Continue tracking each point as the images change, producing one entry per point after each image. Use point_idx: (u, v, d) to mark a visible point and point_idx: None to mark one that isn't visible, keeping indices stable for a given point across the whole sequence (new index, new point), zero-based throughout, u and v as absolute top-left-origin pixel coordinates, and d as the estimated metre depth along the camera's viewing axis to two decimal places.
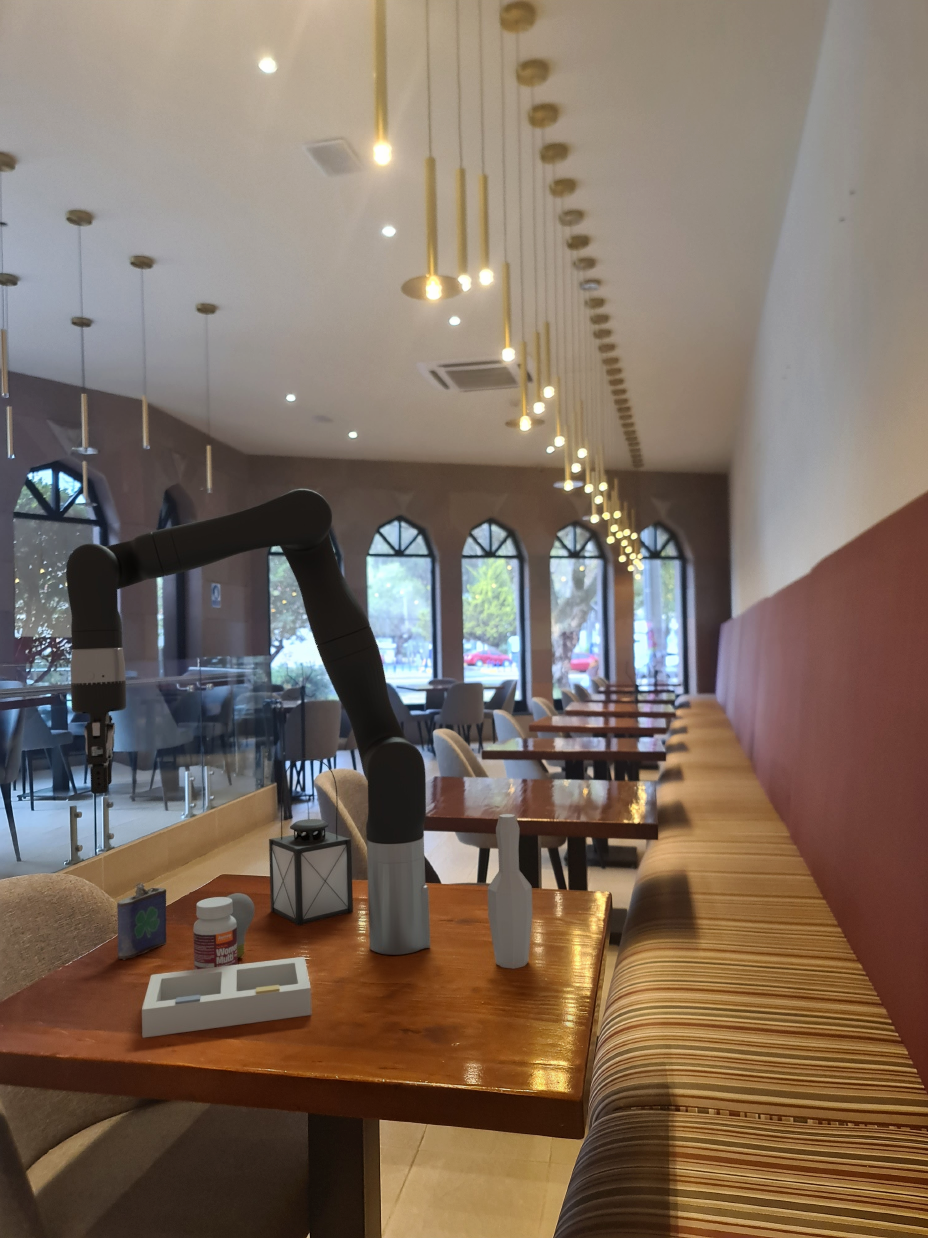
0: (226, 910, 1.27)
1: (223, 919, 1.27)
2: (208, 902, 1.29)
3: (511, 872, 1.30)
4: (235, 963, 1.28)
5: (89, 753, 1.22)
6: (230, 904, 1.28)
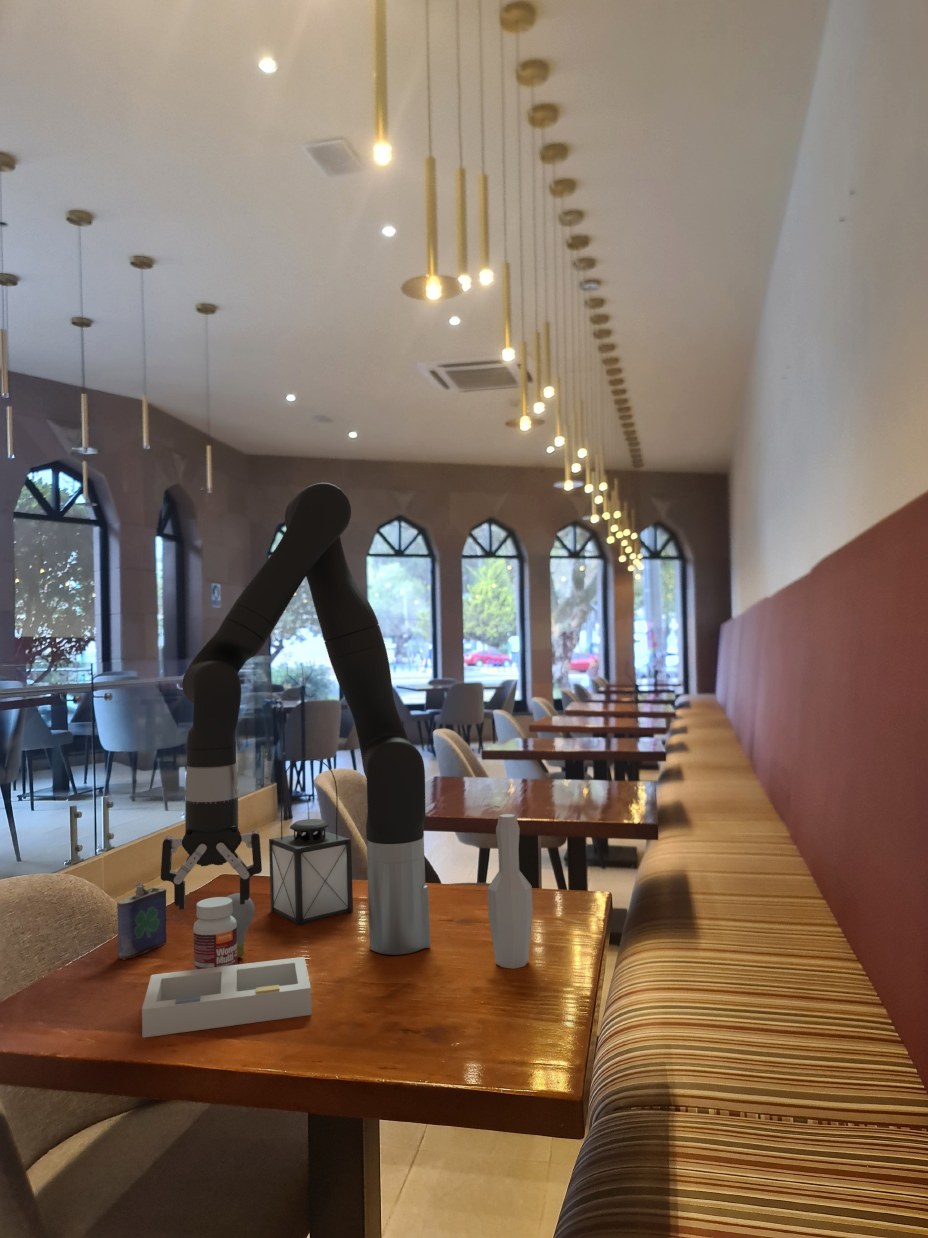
0: (226, 910, 1.27)
1: (223, 919, 1.27)
2: (208, 902, 1.29)
3: (511, 872, 1.30)
4: (235, 963, 1.28)
5: None
6: (230, 904, 1.28)
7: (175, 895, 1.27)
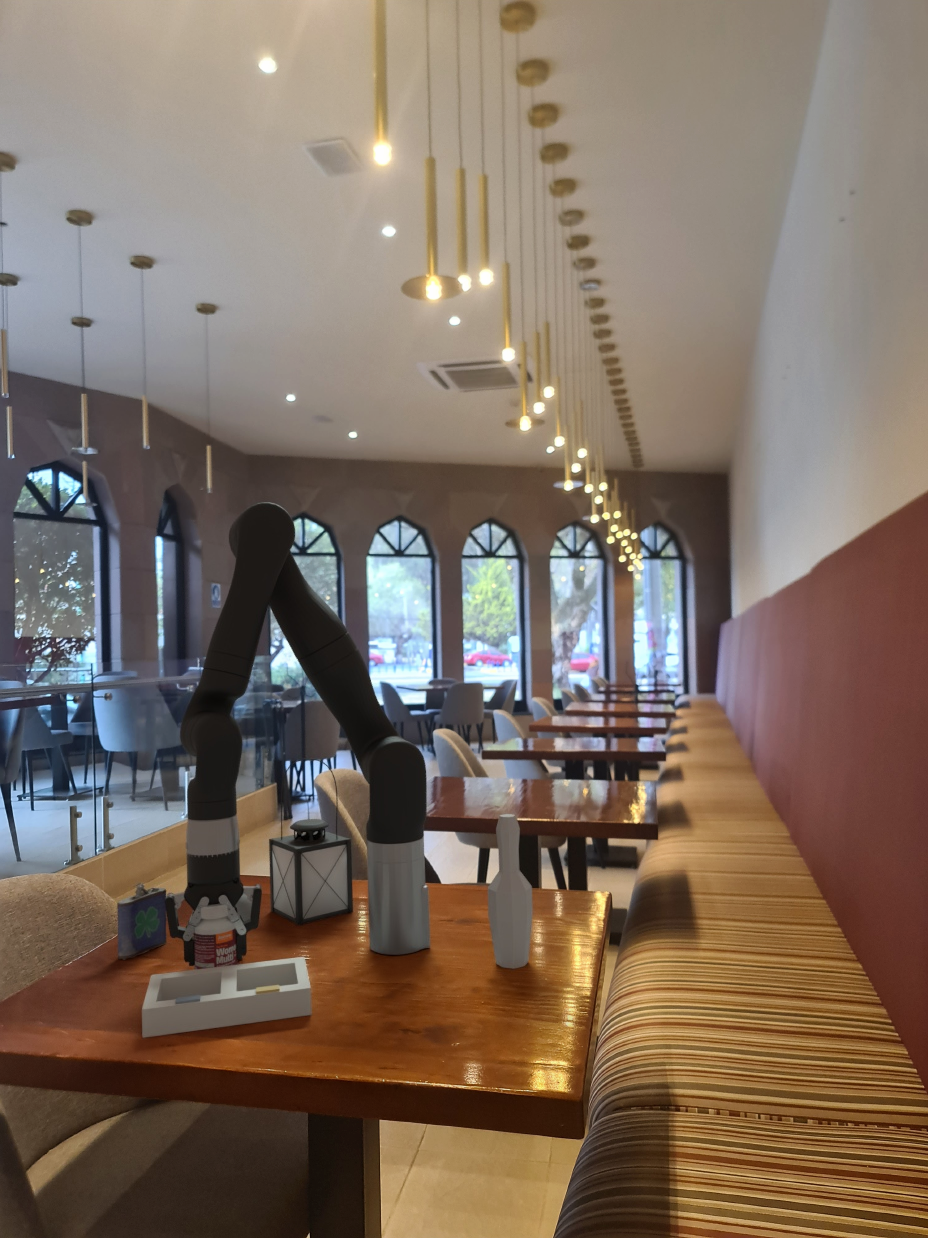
0: (226, 910, 1.27)
1: (223, 919, 1.27)
2: None
3: (511, 872, 1.30)
4: (235, 963, 1.28)
5: None
6: None
7: (184, 952, 1.27)
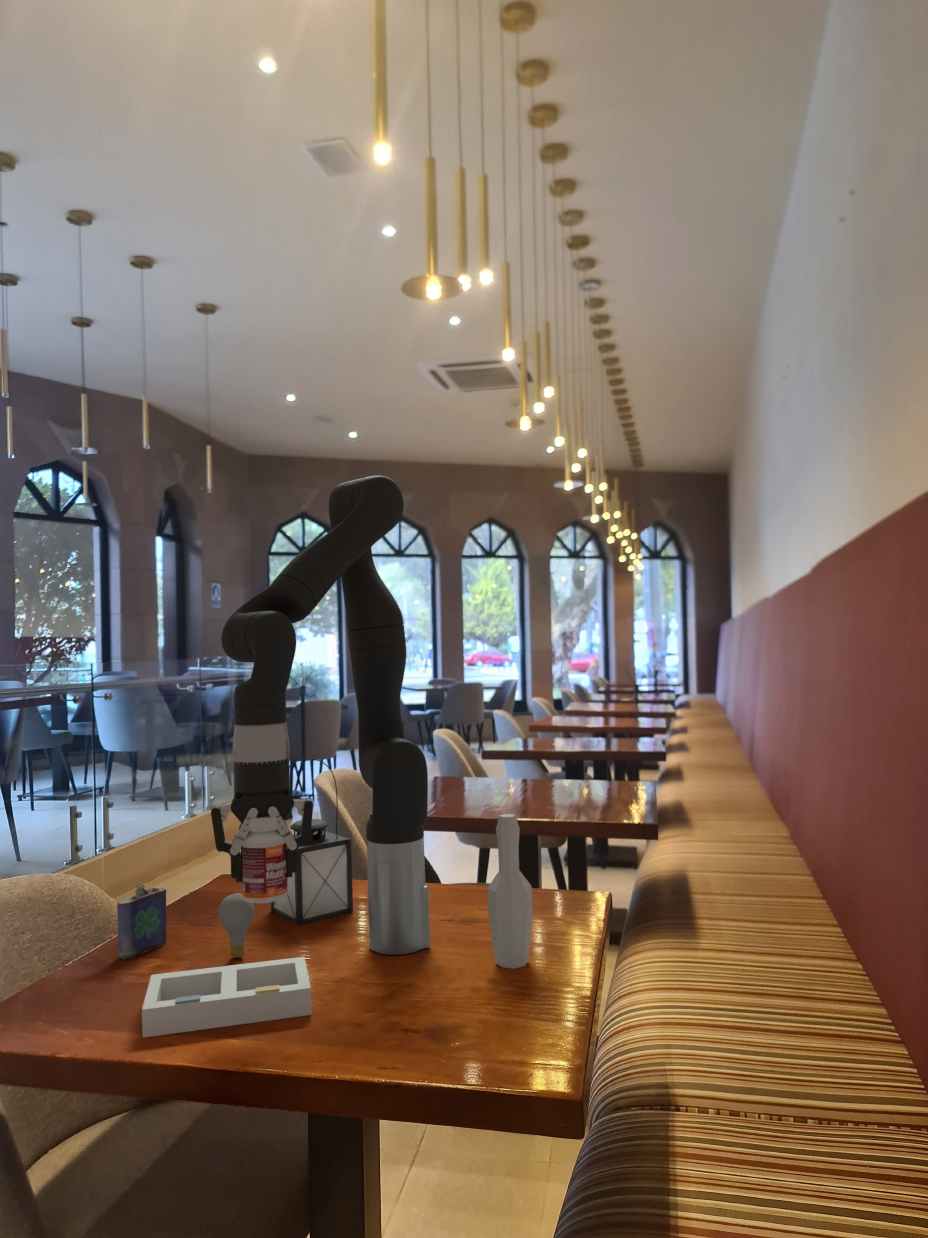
0: (276, 822, 1.19)
1: (273, 833, 1.19)
2: None
3: (511, 872, 1.30)
4: (285, 880, 1.19)
5: (310, 832, 1.21)
6: None
7: (232, 867, 1.18)
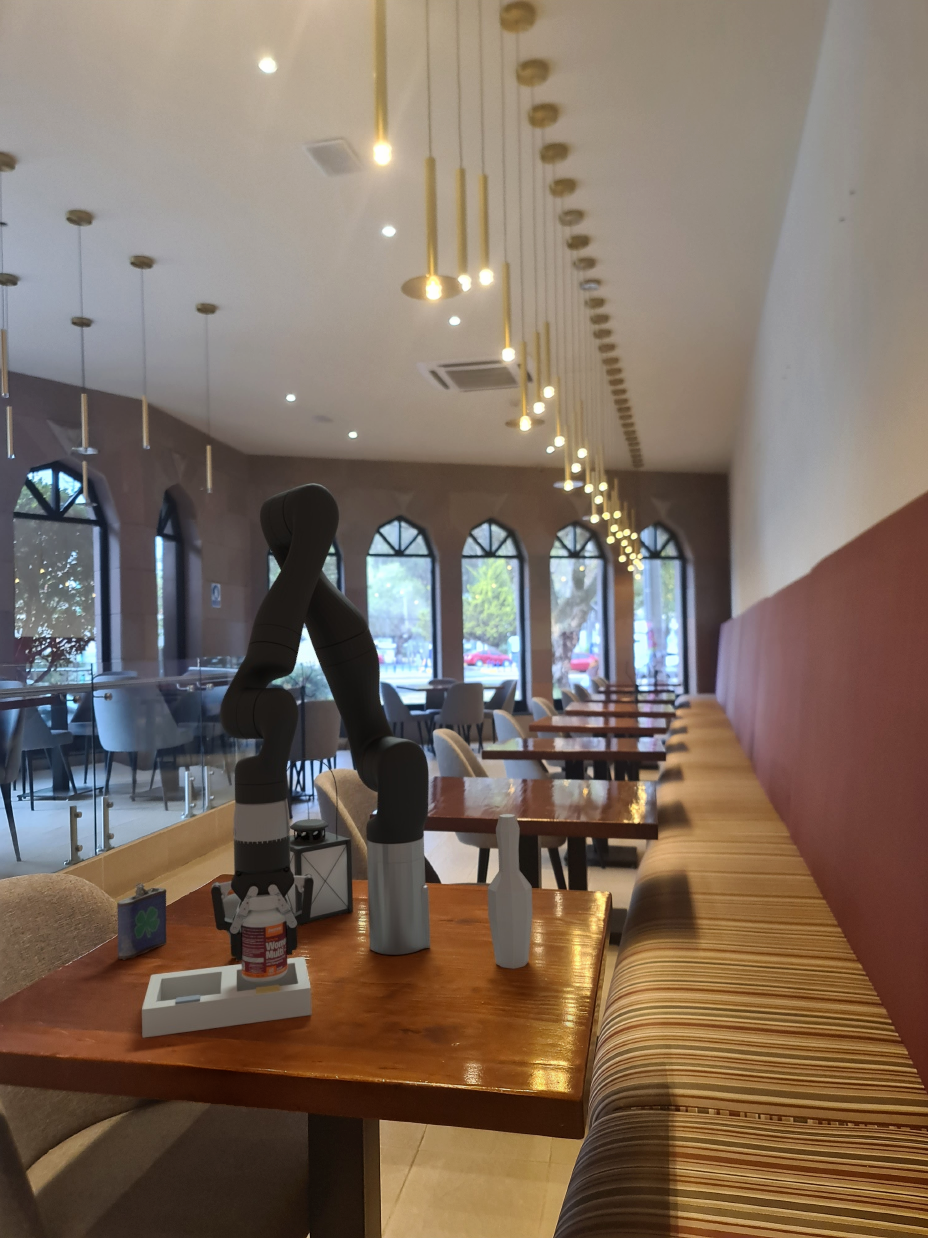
0: (276, 900, 1.18)
1: (273, 911, 1.18)
2: None
3: (511, 872, 1.30)
4: (285, 958, 1.19)
5: (310, 909, 1.20)
6: None
7: (231, 945, 1.18)
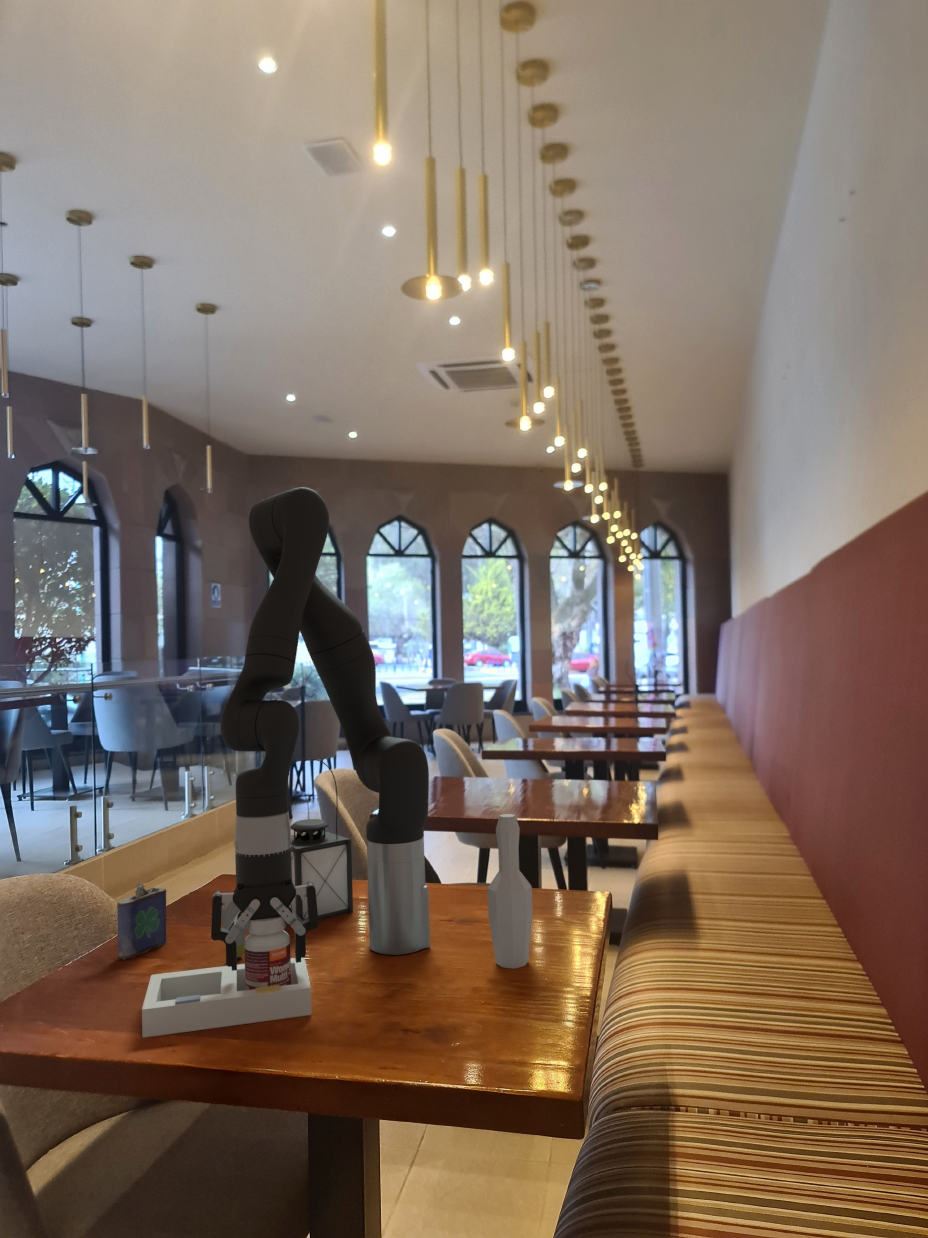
0: (279, 924, 1.18)
1: (277, 935, 1.18)
2: None
3: (511, 872, 1.30)
4: (289, 982, 1.19)
5: (317, 916, 1.20)
6: None
7: (227, 955, 1.18)
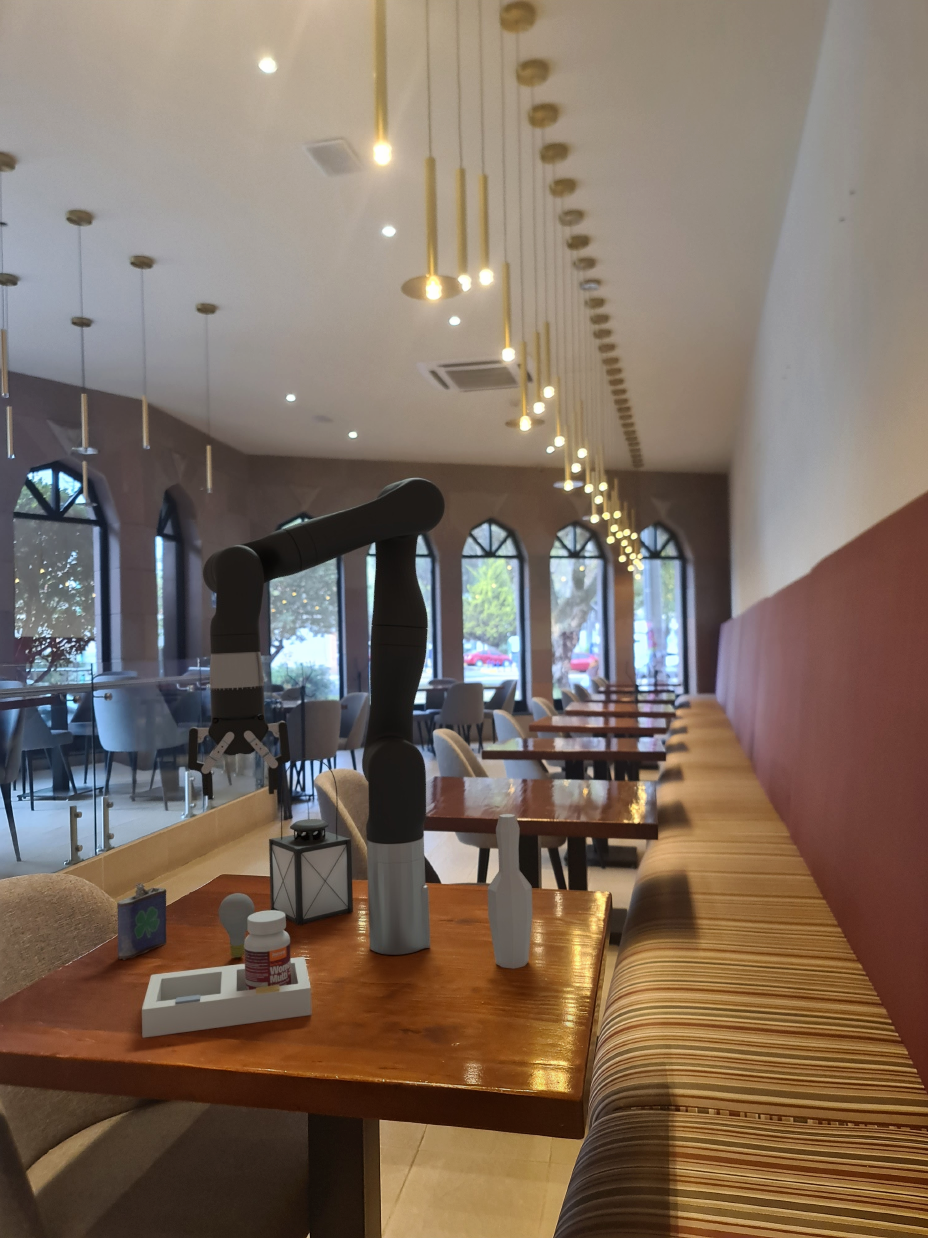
0: (279, 924, 1.18)
1: (277, 935, 1.18)
2: (260, 916, 1.20)
3: (511, 872, 1.30)
4: (289, 982, 1.19)
5: (289, 751, 1.28)
6: (283, 918, 1.19)
7: (203, 785, 1.24)
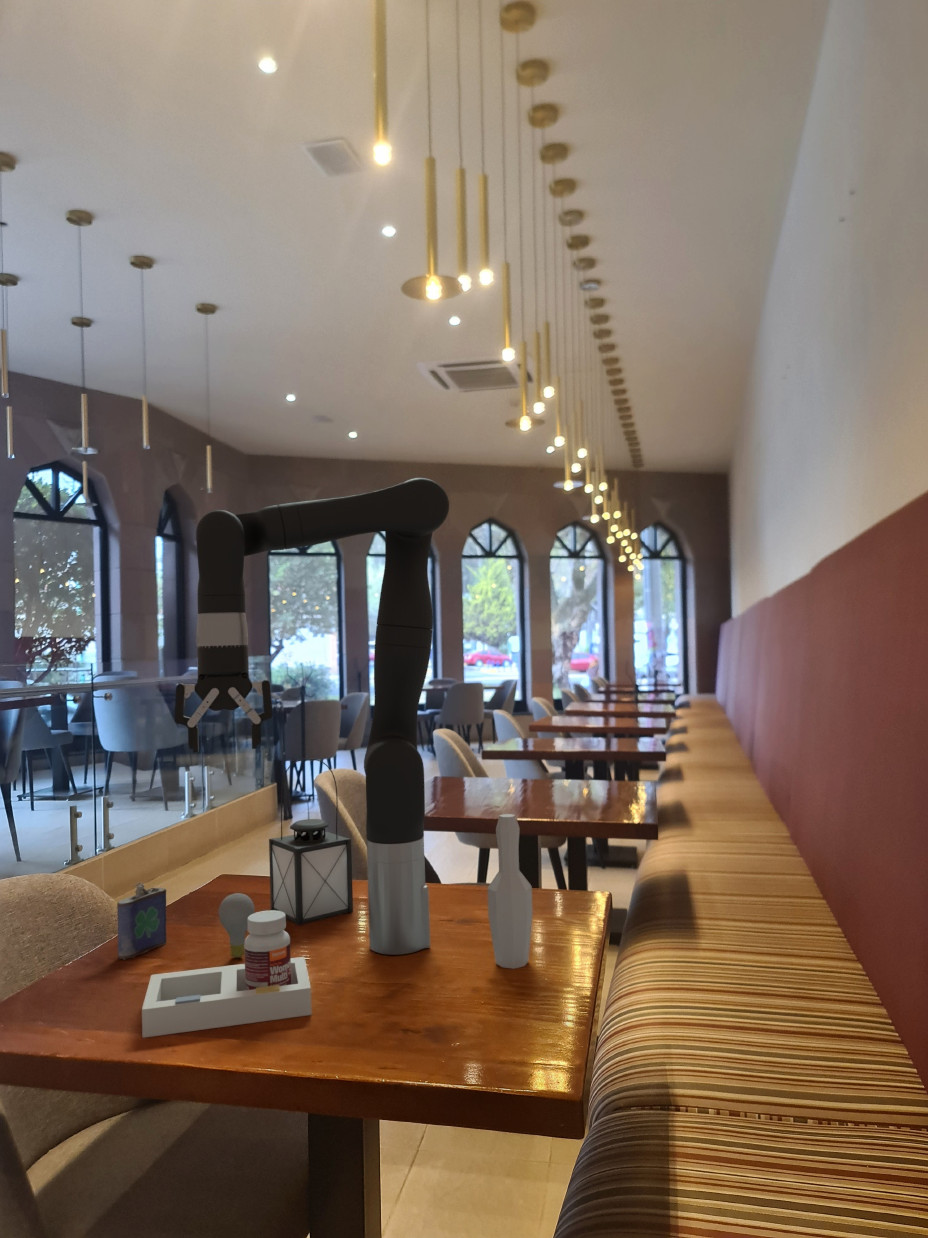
0: (279, 924, 1.18)
1: (277, 935, 1.18)
2: (260, 916, 1.20)
3: (511, 872, 1.30)
4: (289, 982, 1.19)
5: None
6: (283, 918, 1.19)
7: (189, 738, 1.31)
